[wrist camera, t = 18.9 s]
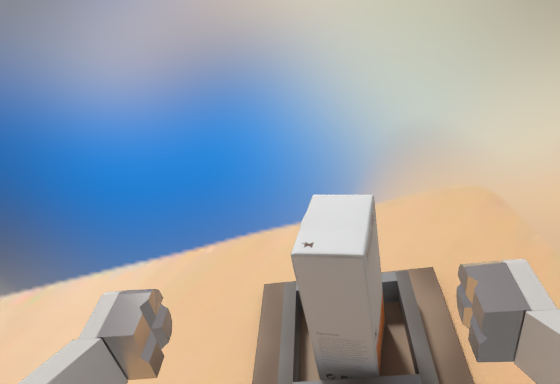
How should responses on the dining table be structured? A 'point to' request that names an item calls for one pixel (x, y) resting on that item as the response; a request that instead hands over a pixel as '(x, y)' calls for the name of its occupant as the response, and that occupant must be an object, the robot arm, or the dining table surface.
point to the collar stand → (396, 339)
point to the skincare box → (341, 285)
